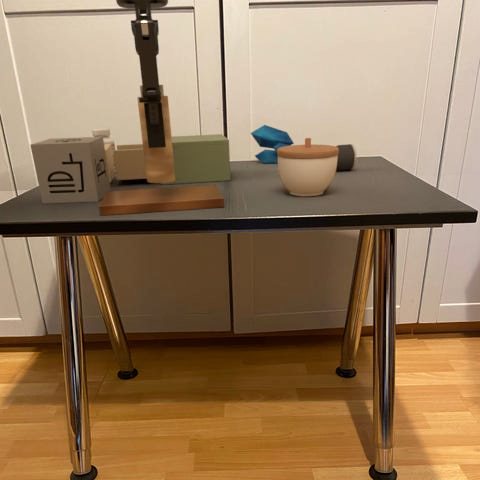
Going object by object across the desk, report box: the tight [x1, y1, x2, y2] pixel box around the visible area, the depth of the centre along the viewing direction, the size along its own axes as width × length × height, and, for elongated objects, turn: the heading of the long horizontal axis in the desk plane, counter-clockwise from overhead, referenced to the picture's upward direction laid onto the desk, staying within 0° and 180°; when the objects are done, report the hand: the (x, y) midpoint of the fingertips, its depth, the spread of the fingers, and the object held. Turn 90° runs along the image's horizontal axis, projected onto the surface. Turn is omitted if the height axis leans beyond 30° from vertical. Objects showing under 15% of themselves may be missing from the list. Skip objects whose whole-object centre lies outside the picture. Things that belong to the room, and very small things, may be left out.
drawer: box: [104, 143, 147, 184], centre depth 102 cm, size 18×11×6 cm, turn 99°
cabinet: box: [159, 133, 231, 186], centre depth 104 cm, size 15×13×8 cm
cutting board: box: [98, 184, 225, 216], centre depth 83 cm, size 20×12×2 cm, turn 99°
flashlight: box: [335, 143, 357, 172], centre depth 106 cm, size 15×5×5 cm, turn 102°
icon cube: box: [29, 136, 112, 204], centre depth 89 cm, size 10×10×10 cm
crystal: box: [250, 124, 295, 165], centre depth 120 cm, size 7×9×12 cm
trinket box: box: [277, 137, 339, 197], centre depth 85 cm, size 11×11×9 cm
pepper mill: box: [136, 84, 175, 184], centre depth 78 cm, size 5×5×15 cm
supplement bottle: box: [91, 128, 116, 174], centre depth 113 cm, size 5×5×10 cm
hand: (157, 145), depth 79 cm, fingers closed on pepper mill, 5 cm apart
